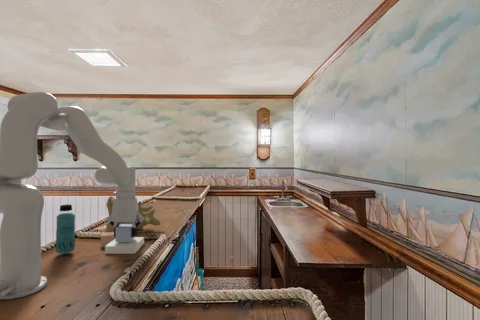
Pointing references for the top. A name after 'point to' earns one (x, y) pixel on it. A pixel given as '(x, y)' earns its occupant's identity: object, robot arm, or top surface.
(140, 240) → the pedestal
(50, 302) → the top surface
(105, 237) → the terracotta block
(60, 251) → the beverage bottle
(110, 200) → the decorative coral
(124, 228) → the grey-blue cube
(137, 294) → the top surface
